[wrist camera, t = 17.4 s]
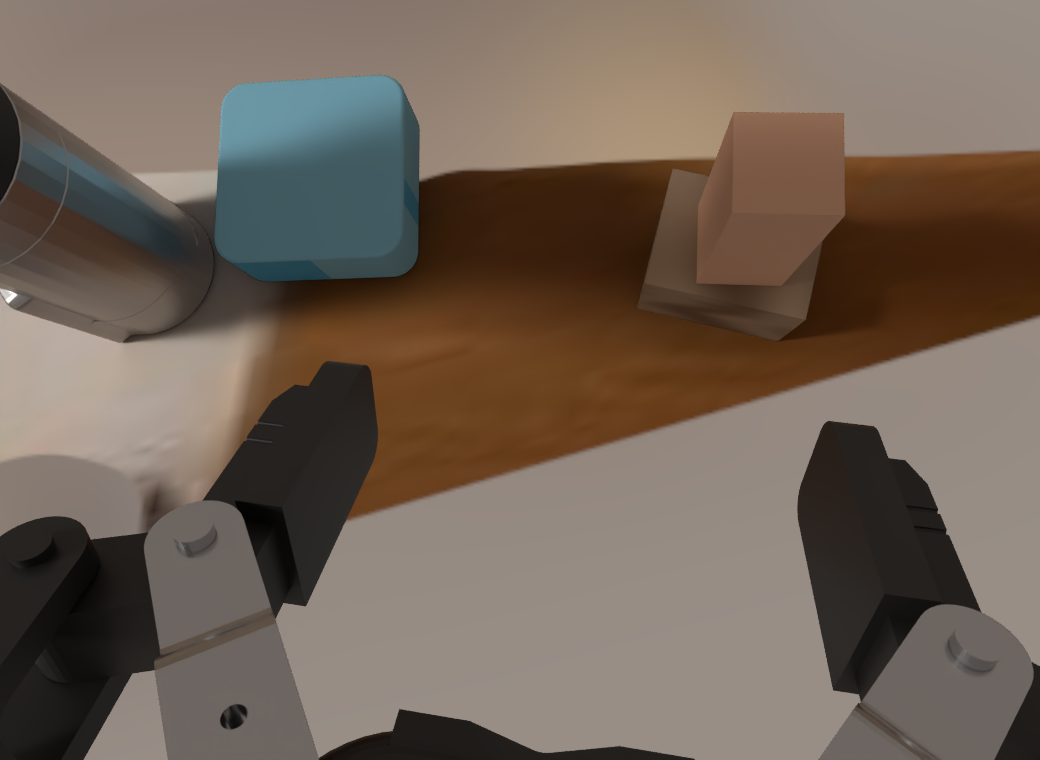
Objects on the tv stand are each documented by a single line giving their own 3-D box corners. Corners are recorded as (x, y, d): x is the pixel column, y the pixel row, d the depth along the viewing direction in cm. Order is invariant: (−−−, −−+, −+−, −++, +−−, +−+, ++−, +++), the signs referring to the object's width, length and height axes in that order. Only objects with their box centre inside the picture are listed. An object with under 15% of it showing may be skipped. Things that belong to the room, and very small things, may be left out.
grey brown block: (636, 309, 47) (644, 283, 41) (661, 208, 47) (672, 168, 42) (777, 341, 46) (805, 320, 40) (800, 238, 46) (831, 201, 40)
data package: (418, 276, 48) (420, 109, 50) (402, 255, 44) (404, 71, 45) (244, 283, 49) (252, 118, 51) (211, 262, 45) (221, 82, 46)
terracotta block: (781, 286, 40) (845, 215, 30) (696, 283, 40) (732, 212, 31) (781, 207, 41) (843, 113, 31) (698, 205, 41) (733, 112, 31)
